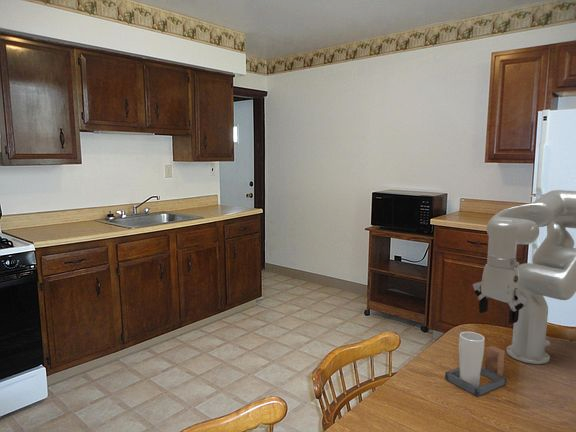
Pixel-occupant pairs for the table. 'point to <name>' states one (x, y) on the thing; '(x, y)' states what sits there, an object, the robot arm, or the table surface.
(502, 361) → the frame
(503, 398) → the table surface
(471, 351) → the drinking glass
